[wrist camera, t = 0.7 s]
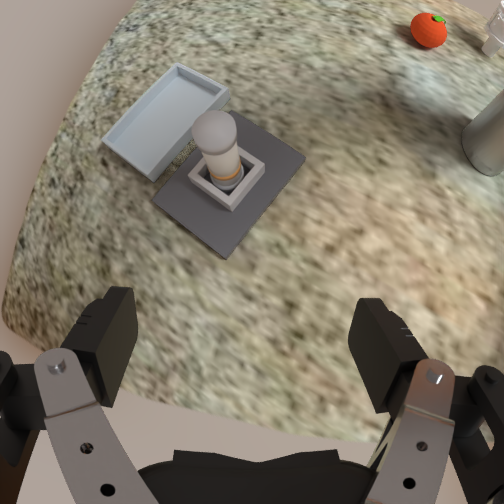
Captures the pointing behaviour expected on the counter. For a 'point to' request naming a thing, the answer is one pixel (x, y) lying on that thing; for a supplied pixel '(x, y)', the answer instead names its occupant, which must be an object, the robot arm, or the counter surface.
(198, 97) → the tray
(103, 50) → the counter surface
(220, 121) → the white bottle
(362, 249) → the counter surface
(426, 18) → the clementine
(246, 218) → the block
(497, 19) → the drinking glass
